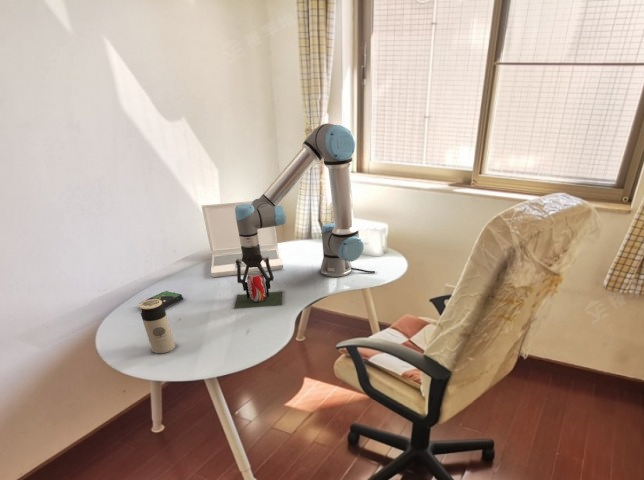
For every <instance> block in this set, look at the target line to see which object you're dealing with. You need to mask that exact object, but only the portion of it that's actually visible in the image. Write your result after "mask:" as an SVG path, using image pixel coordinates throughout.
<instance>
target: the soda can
mask: <svg viewBox="0 0 644 480" xmlns="http://www.w3.org/2000/svg"><path fill="white" fill-rule="evenodd" d="M246 280H247V281H246V282H247V283H248V289H249V294H250V298H251V300H252V301H254V302H261V301H264V300H265V299H266V293H267V292H266V285H265V278H264V276H263V275H262V273H261V272H260V271H252V272H249V273H248V274H247V277H246Z"/></svg>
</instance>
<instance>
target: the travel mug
mask: <svg viewBox="0 0 644 480" xmlns="http://www.w3.org/2000/svg"><path fill="white" fill-rule="evenodd" d="M145 300H146V301H145ZM145 300H143V301H141V302H142V303H141V302H139V303H140V304H138V307H139V309H140V310H141V312H140V316H141V320H142V322H143V325H144V329H145V332H146V335H147V339H148V341H149V344H150V347H151V350H152V352H153V353H155V354H166V353H168V352H171V351H173V350H174V349H175V347H176V343H175V340H174V336H173V333H172V329H171V326H170V323H169V319H168V315H167V312H166V308H165V309H164V308H163V307H162V301H161V300H159V299H150V300H147V299H145Z"/></svg>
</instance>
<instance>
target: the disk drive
mask: <svg viewBox="0 0 644 480" xmlns="http://www.w3.org/2000/svg"><path fill="white" fill-rule="evenodd" d="M150 299H159V300H161V301H162V307H163V308H164V309H165V310H166V309H167V308H169V307H171V306H173V305H175V304H178V303H179V302H181V301H182V300H184V298H183V294H181V293H178V292H175V291H174V292H173V291H168V290H165V291H162V292H160V293H158V294H156V295H153V296H151V297H149V298H146V299H145V300H144V301H146V300H150ZM142 302H143V301H140V302H139V304H140V303H142ZM139 304H138V305H139Z"/></svg>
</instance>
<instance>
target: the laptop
mask: <svg viewBox="0 0 644 480" xmlns="http://www.w3.org/2000/svg"><path fill="white" fill-rule="evenodd" d="M253 201H254V200H248V201H237V202H236V201H235V202H227V203H226V202H224V203H215V204H203V205H201V210H202V214H203V220H204V225H205V230H206V233H207V238H208V244H209V248H210V249H209V250H210V253H211V267H210V268H211V269H210V275H211V277H213V278H221V277H231V276H237V264H236V259H242V250H241V246H242V245H241V244H240V238H239V232H238V227H237V221H236V215H235V208H236V207H237V206H238V205H242V204H251V203H252V202H253ZM257 232H258V238H259V245H260V252H261V255H262V257H269V264H270V267H271V270H272V272H273V271H281V270H283V269H284V262H283V261H282V257H281V254H280V251H279V246H278V245H279V244H278V238H277V237H278V236H277V229H276V226H274V227H267V228H260V229H257ZM261 265H262V267H263V269H264V270H265V272H268V270H267V267H266V263H265V262H264V261H263V260H262V261H261ZM245 269H246V264H245V263H244V262H243V261H242V264H241V275H244V273H245ZM252 271H260V270H259V269H258V267H252V268H250V267H249V270H248V273H249V272H252ZM248 273H247V275H248Z"/></svg>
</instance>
